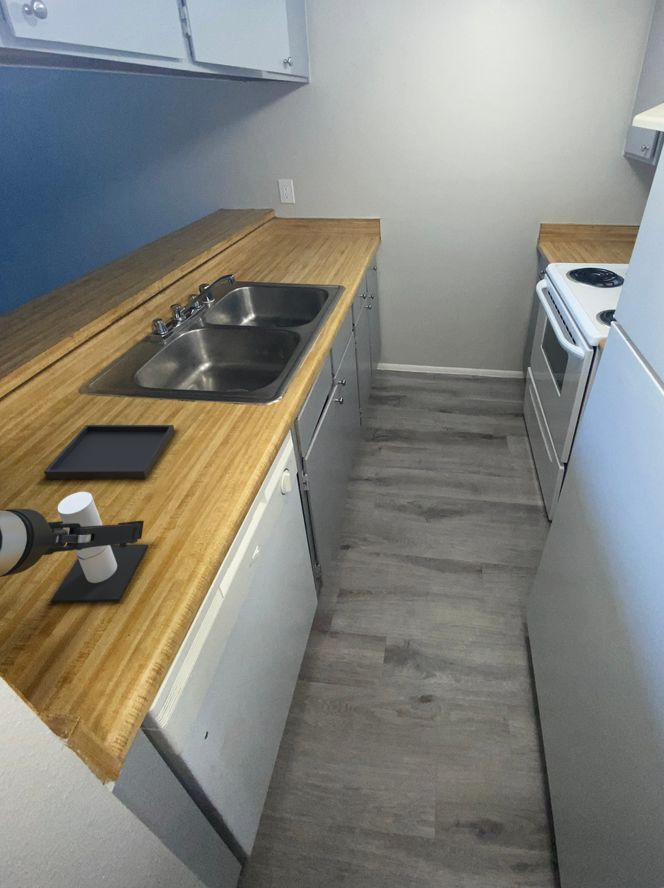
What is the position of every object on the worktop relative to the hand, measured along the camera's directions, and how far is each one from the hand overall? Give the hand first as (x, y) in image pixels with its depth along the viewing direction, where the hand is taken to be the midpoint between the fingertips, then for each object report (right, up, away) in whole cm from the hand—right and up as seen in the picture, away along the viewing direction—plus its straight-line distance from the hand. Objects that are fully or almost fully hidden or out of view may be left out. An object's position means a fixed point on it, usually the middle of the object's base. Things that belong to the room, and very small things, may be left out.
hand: (100, 529), depth 75 cm
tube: (0, -7, +1) cm, 7 cm away
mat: (0, -7, +1) cm, 7 cm away
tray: (-13, +6, +26) cm, 30 cm away
